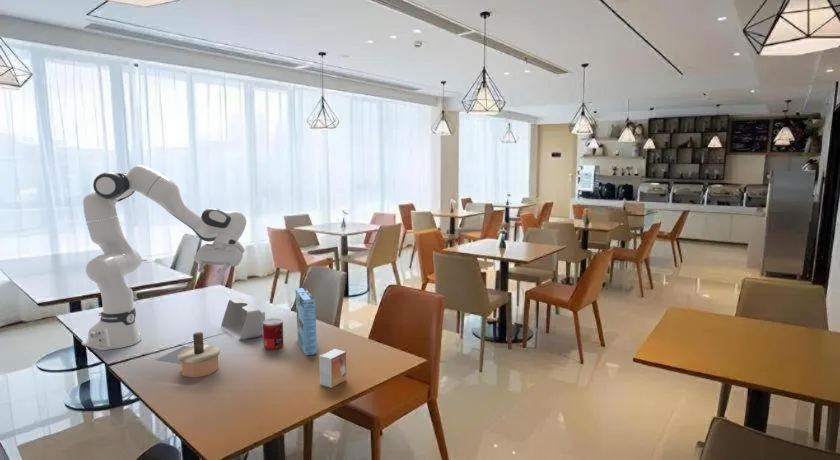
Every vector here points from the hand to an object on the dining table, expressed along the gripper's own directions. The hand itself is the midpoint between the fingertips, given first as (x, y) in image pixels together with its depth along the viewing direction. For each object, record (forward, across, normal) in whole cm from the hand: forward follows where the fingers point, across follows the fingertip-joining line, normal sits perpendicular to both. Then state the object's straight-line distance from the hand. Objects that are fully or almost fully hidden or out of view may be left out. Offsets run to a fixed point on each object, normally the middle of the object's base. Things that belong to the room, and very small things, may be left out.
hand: (209, 272), depth 197 cm
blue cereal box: (+15, +37, +30) cm, 50 cm away
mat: (+30, -4, +14) cm, 34 cm away
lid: (+33, +11, +3) cm, 35 cm away
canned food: (+18, +24, +27) cm, 40 cm away
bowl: (+37, +11, +7) cm, 40 cm away
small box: (+34, +62, +11) cm, 71 cm away
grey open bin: (+7, +1, +38) cm, 38 cm away
